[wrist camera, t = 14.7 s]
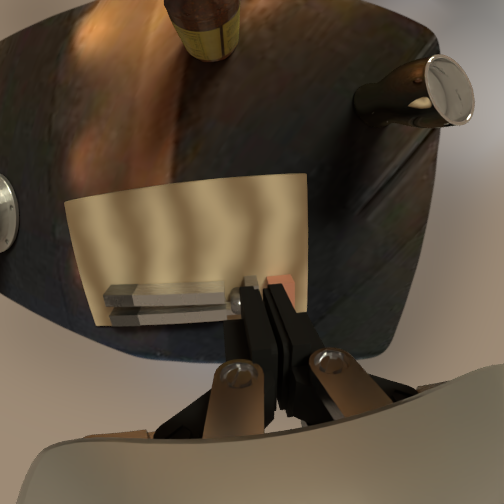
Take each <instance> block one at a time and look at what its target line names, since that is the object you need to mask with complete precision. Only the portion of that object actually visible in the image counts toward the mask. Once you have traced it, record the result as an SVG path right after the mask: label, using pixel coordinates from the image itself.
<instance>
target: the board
mask: <svg viewBox="0 0 504 504" xmlns="http://www.w3.org/2000/svg"><path fill="white" fill-rule="evenodd" d="M64 204H65V210H66V215H67V221H68V226H69V231H70V236H71V240H72V245H73V249H74V253H75V257H76V261H77V265H78V269H79V273H80V276H81V280H82V283H83V287H84V290H85V293H86V297H87V300H88V303H89V306H90V309H91V312H92V315H93V318H94V320H95V323H96V326H112V324H111V321H110V318H109V315H110V313H111V312H112V310H113V308H114V307H106V306H105V302H104V298H103V294H104V293H105V292H106V290H107V289H108V288H109V286H110V285H119V284H163V283H189V282H210V281H224V286H225V297H226V302H228V301H231V300H230V292H231V290H232V289H233V288H235V287H244V286H245V282H244V276H251V275H256V276H257V280H258V284H259V290H260V294H261V297H262V300H263V288H267V276H277V275H287V274H291V276H292V278H293V280H294V282H295V311H296V313H299V312H307V280H308V206H307V174H304V173H300V174H276V175H259V176H244V177H231V178H220V179H209V180H199V181H190V182H181V183H173V184H165V185H157V186H150V187H143V188H136V189H130V190H124V191H118V192H112V193H106V194H100V195H95V196H89V197H84V198H79V199H74V200H69V201H66V202H64ZM232 319H241V314H240V315H227V320H232ZM222 321H223V320H222ZM209 322H210V321H209ZM195 323H196V322H195ZM178 324H179V323H178ZM158 325H159V324H158Z"/></svg>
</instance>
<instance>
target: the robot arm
mask: <svg viewBox="0 0 504 504" xmlns="http://www.w3.org/2000/svg"><path fill="white" fill-rule="evenodd" d="M18 228H19V209H18V202H17V198H16V195H15V192H14V190H13V188H12V186H11V184H10V182H9V181H8V180H7V178H6V177H4V176H3V175H2V174H0V253H1V252H3V251H5V250H7V249H8V248H10V247H11V246H12V244H13V243H14V241H15V239H16V236H17V232H18ZM239 291H240V307H241V319H232V320H223V325H224V340H225V354H226V362H225V363H223V364H222V365H220V366H219V367H218V368H217V369H216V372H215V374H214V379H213V384H212V388H211V389H210V390H209V391H208V392H206V393H205V394H204V395H202V396H201V397H200V398H198V399H197V400H196V401H194V402H193V403H192V404H190V405H189V406H188V407H186V408H185V409H183V410H182V411H180V412H179V413H178V414H176V415H175V416H173V417H172V418H171V419H169V420H168V421H166V422H165V423H163V424H162V425H161V426H160V427H159V428H158V429H157V430H156V431H155V432H147V430H139V431H130V432H121V433H110V434H96V435H89V436H85V437H84V438H81V439H74V440H68V441H63V442H59V443H56V444H53V445H51V446H49V447H47V448H45V449H43V450H42V451H41V452H40V453H39V454H38V455H37V457H36V458H35V459H34V461H33V463H32V464H31V466H30V468H29V470H28V472H27V474H26V476H25V479H24V481H23V484H22V487H21V490H20V493H19V496H18V499H17V503H16V504H504V364H499V365H491V366H488V367H483V368H480V369H477V370H475V371H472V372H469V373H467V374H465V375H462V376H460V377H457V378H455V379H453V380H450V381H446V382H440V383H435V384H429V385H423V386H418V387H417V389H416V390H415V389H414V388H412V387H410V386H407V385H404V384H401V383H397V382H393V381H390V380H387V379H384V378H380V377H377V376H374V375H371V374H368V373H367V372H366V371H365V370H364V369H363V368H362V367H361V365H360V364H359V363H358V362H357V361H356V360H355V359H354V358H353V357H352V355H350V354H349V353H348V352H347V351H344V350H342V349H339V348H332V347H327V348H325V346H324V345H323V343H322V341H321V339H320V337H319V335H318V333H317V332H316V330H315V328H314V326H313V324H312V322H311V321H310V319H309V317H308V315H307V314H306V312H300V313H296V311H295V309H294V307H293V305H292V303H291V301H290V299H289V297H288V295H287V293H286V291H285V289H284V287H283V285H282V283H278V284H268V286H267V288H263V300H262V297H261V294H260V290H259V289H254V286H244V287H239ZM277 400H278V404H279V408H280V410H286V413H287V417H293V416H294V417H296V418H298V419H300V420H301V425H302V428H296V429H290V430H285V431H278V432H271V433H264V429H265V428H266V427H267V426H268V425H269V424H270V423H271V422H272V420H273V419H274V411H276V402H277Z"/></svg>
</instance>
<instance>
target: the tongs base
mask: <svg viewBox="0 0 504 504" xmlns="http://www.w3.org/2000/svg"><path fill="white" fill-rule="evenodd" d="M244 282H245V286H254V289H259V284H258V280H257V276H256V275H251V276H244ZM230 300H231V301H228V302H226V297H225V304H205V305H178V306H135V307H114V308H113V310H112V312H111V313H110V315H109V318H110V321H111V324H112V326H140V325H158V324H178V323H195V322H209V321H222V320H227V315H240V314H241V307H240V291H239V287H235V288H233V289H232V290H231V292H230Z"/></svg>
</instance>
